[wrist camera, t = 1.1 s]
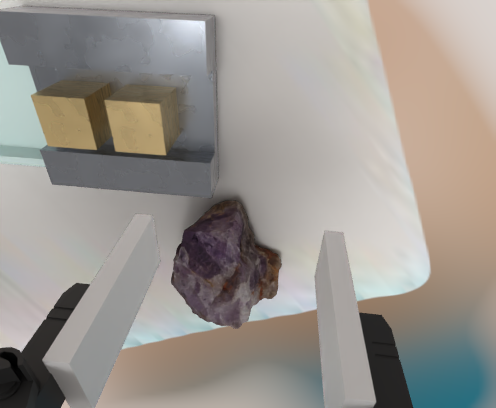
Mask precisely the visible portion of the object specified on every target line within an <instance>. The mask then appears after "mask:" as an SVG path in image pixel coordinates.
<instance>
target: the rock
mask: <svg viewBox="0 0 496 408" xmlns="http://www.w3.org/2000/svg"><path fill="white" fill-rule="evenodd" d="M247 221H248V217H247V214H246V213H245V212H244V208H243V206H242V205H241V204H240V203H239V202H237V201H224V202H221V203H219V204H216V205H214V206H213V207H212V208H211V209H210V210H209V211H207V212H206V213H205V214H204V215H203V216H202V217H201V218H200V219H199V220H198V221H197V222H196V223H195V224H194V225H192V226H190V227H189V228H187V229H186V230H184V233H183V239H182V243H181V244H179V246H178V248H177V251H176V256H175V258H174V267H173V270H174V271H173V274H172V278H171V283H172V285H173V286H174V287H175V288H176V290H177V291H178V292H179V293H180V295H181V296H182V297H183V298H184V299H185V301H186V304H188V306H190V307H191V309H192V312H193V313H194V314H197V315H198V316H199V317H200V318H202V319H204V320H205V321H207V322H213V323H215V324H216V325H221V326H231V327H233V328H235V329H236V328H239V327H240V326H241V325H242V323H243V322H246V321H248V319H249V316H250V311H251V308H252V306H253V305H255V304H257V303H258V302H259V300H262V299H263V298H267V299H272V298H273V297H274V296H275V295H276V294H277V290H278V272H279V269H280V268H281V265H282V263H281V259H280V258H279V257H278V254H275V253H273V252H271V251H270V250H268V249H263V248H260V247H259V246H258V245H254V240H255V239H254V234H253V232H252V230H251V229H250V228H249V225H248V222H247Z"/></svg>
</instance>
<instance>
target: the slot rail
mask: <svg viewBox="0 0 496 408" xmlns="http://www.w3.org/2000/svg"><path fill="white" fill-rule="evenodd" d="M0 42H1V45H2V47H3V50H4V53H5V56H6V58H7V61H8V64H9V65H23V66H29V69H30V72H31V75H32V78H33V81H34V84H35V87H36V90H37V92H38V91H40V90H42V89H44V88H46V87H48V86H51V85H53V84H55V83H57V82H59V81H61V80H67V81H83V82H99V83H109V85H110V90H111V95H112V94H114V93H115V92H117V91H118V90H120V89H121V88H122V87H124V86H125V85H127V84H130V85H146V86H162V87H176V95H177V106H178V117H179V128H180V135H179V137H178V138H177V140H176V141H175V143H174V144H173V146H172V147H171V149H170V150H169V152H168V153H167V155H154V154H141V153H128V152H116V151H115V147H114V142H113V137H110V138H109V139H108V140H107V141H106V142H105V143H104V144H103V145H102V146H101V147H100V148H99V149H98V150H90V149H77V148H64V147H52V146H48V145H46V146H45V147H43V148H42V149H40V152H41V155H42V158H43V160H44V163H45V166H46V169H47V172H48V174H49V177H50V180H51V183H52V184H54V185H66V186H77V187H89V188H101V189H112V190H124V191H135V192H147V193H159V194H170V195H182V196H193V197H205V198H212V196H213V193H214V190H215V187H216V184H217V182H218V179H219V171H218V128H217V85H216V42H215V15H199V14H178V13H157V12H136V11H115V10H95V9H74V8H53V7H32V6H19V7H12V8H5V9H0Z"/></svg>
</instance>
